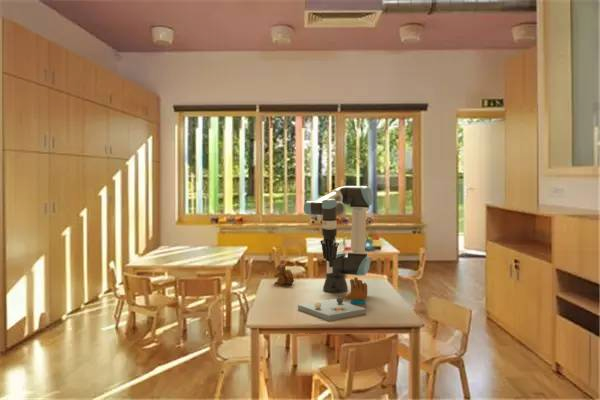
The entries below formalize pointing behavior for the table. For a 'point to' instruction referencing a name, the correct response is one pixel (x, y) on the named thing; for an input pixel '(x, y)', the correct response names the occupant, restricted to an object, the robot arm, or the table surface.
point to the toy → (357, 292)
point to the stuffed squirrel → (283, 275)
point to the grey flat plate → (332, 309)
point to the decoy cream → (317, 305)
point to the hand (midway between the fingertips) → (329, 272)
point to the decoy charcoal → (339, 300)
